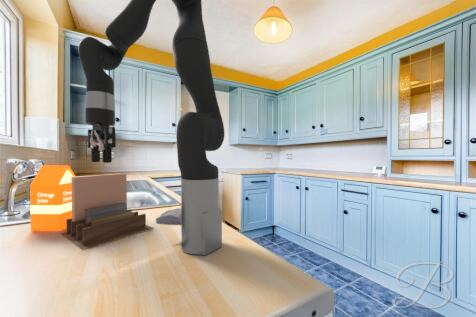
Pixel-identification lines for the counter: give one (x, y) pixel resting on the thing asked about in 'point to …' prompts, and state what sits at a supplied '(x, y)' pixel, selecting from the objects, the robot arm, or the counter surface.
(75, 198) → the tall sheet
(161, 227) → the counter surface
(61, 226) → the orange juice
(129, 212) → the offcut front
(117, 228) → the rack
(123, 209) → the bar
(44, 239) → the counter surface
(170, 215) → the stone block
